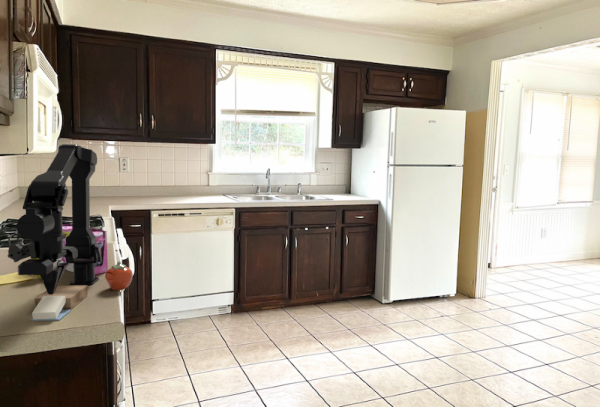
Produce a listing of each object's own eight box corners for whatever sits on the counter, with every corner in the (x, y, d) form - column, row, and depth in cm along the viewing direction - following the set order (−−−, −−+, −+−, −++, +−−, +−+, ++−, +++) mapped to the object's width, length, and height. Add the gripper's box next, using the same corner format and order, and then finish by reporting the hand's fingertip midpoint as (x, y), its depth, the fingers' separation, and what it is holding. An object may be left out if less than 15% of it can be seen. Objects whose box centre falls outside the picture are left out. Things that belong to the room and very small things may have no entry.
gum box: (111, 272, 149) (110, 231, 147) (88, 277, 142) (87, 234, 141) (71, 261, 162) (70, 223, 161) (48, 265, 156) (47, 225, 154)
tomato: (101, 287, 132) (100, 260, 132) (126, 283, 138) (126, 257, 137) (111, 294, 127) (111, 265, 126) (137, 288, 132) (137, 261, 131)
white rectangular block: (44, 302, 113) (43, 296, 112) (66, 301, 113) (65, 295, 113) (33, 319, 106) (32, 312, 106) (56, 318, 107) (55, 312, 106)
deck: (55, 296, 124) (54, 285, 124) (87, 296, 125) (87, 285, 124) (35, 310, 113) (34, 298, 113) (70, 310, 114) (70, 298, 113)
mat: (43, 310, 113) (43, 309, 113) (71, 310, 113) (71, 309, 113) (30, 320, 106) (30, 319, 106) (59, 320, 107) (59, 319, 107)
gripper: (33, 224, 119) (35, 283, 121) (-9, 238, 101) (-6, 306, 102) (77, 225, 120) (79, 283, 122) (44, 238, 102) (46, 306, 103)
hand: (51, 294), depth 112 cm, fingers closed
